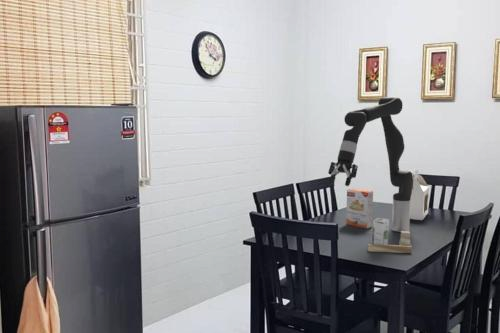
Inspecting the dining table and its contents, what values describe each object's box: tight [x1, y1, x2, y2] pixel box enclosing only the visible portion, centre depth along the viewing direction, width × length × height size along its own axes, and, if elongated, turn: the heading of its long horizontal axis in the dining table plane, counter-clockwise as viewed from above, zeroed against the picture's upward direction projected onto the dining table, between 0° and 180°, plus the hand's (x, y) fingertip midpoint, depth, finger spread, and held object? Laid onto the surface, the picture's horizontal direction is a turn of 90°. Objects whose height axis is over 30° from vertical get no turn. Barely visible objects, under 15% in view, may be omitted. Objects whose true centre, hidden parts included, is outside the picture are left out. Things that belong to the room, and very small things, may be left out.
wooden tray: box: [367, 230, 413, 254], centre depth 243 cm, size 16×20×8 cm
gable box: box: [400, 170, 430, 221], centre depth 314 cm, size 22×13×28 cm, turn 153°
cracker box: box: [345, 188, 374, 230], centre depth 287 cm, size 14×6×21 cm, turn 45°
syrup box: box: [371, 217, 390, 245], centre depth 241 cm, size 6×6×14 cm
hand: (339, 184), depth 236 cm, fingers open, 8 cm apart
